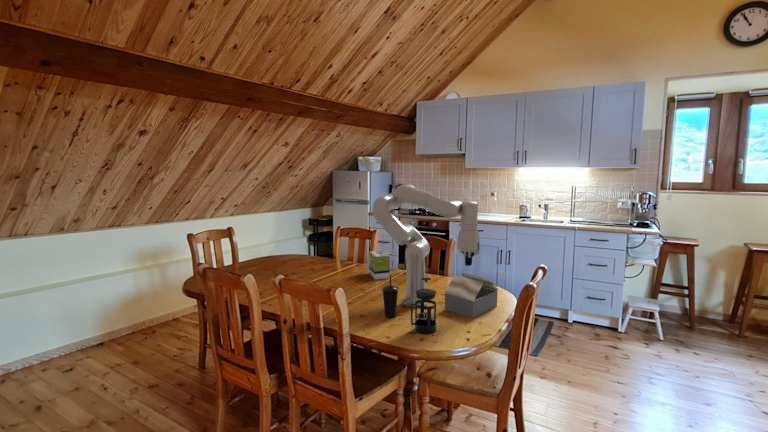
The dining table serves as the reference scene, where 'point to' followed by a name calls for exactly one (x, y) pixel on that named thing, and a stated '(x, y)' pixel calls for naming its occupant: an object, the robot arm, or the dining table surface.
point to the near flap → (464, 288)
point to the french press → (425, 318)
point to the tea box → (379, 264)
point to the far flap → (486, 282)
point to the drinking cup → (390, 300)
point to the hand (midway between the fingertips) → (468, 265)
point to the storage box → (472, 303)
